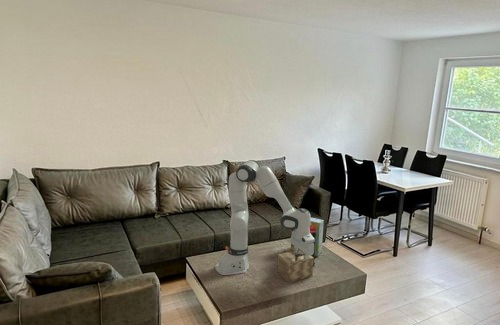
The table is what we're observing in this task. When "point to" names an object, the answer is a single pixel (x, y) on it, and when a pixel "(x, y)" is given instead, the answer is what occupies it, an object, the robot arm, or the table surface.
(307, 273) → the carton
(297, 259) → the carton lid
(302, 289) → the table surface
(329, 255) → the table surface
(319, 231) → the snack box
